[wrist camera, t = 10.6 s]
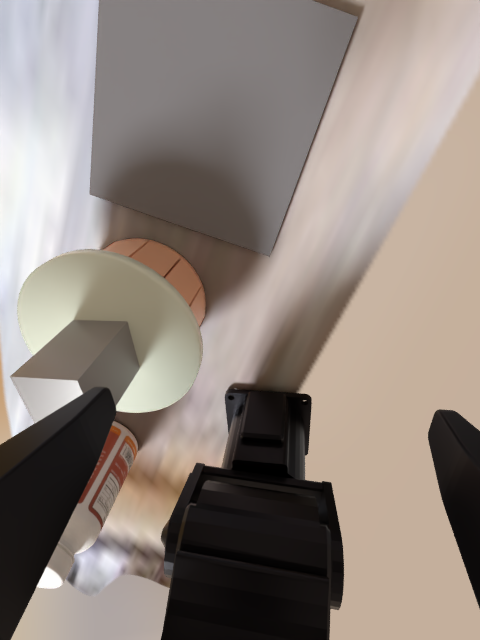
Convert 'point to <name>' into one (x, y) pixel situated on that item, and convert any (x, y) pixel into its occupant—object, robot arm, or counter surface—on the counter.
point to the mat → (211, 108)
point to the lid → (104, 334)
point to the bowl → (166, 269)
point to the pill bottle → (93, 504)
